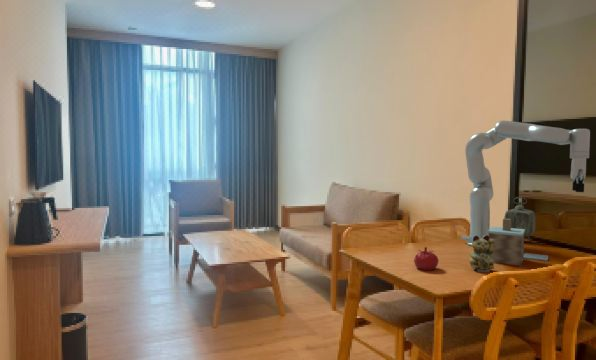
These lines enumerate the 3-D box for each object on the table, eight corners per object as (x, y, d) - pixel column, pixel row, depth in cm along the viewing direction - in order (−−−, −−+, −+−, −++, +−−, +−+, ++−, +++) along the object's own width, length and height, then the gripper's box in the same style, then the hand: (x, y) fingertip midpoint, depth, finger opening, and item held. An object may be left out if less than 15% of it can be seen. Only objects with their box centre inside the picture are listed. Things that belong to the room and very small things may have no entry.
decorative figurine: (473, 272, 168) (474, 236, 167) (465, 267, 176) (465, 232, 176) (497, 272, 168) (498, 236, 167) (487, 267, 176) (488, 232, 176)
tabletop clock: (535, 241, 229) (536, 197, 228) (531, 244, 223) (532, 198, 221) (507, 238, 239) (508, 195, 238) (502, 241, 232) (503, 196, 231)
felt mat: (522, 258, 192) (522, 257, 192) (524, 254, 200) (524, 252, 200) (547, 261, 186) (547, 259, 186) (548, 256, 195) (548, 255, 195)
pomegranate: (443, 269, 173) (444, 248, 173) (427, 273, 168) (428, 250, 167) (424, 264, 182) (425, 243, 181) (408, 267, 176) (409, 245, 176)
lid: (488, 233, 185) (488, 219, 185) (492, 228, 196) (492, 216, 196) (522, 236, 178) (522, 222, 177) (524, 231, 189) (525, 218, 189)
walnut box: (488, 261, 186) (488, 233, 185) (492, 255, 197) (493, 228, 196) (520, 265, 179) (521, 235, 178) (523, 259, 190) (524, 231, 189)
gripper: (567, 155, 203) (566, 189, 204) (572, 155, 188) (571, 192, 189) (585, 155, 200) (584, 190, 201) (592, 155, 185) (591, 193, 186)
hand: (578, 191), depth 195 cm, fingers open, 9 cm apart
